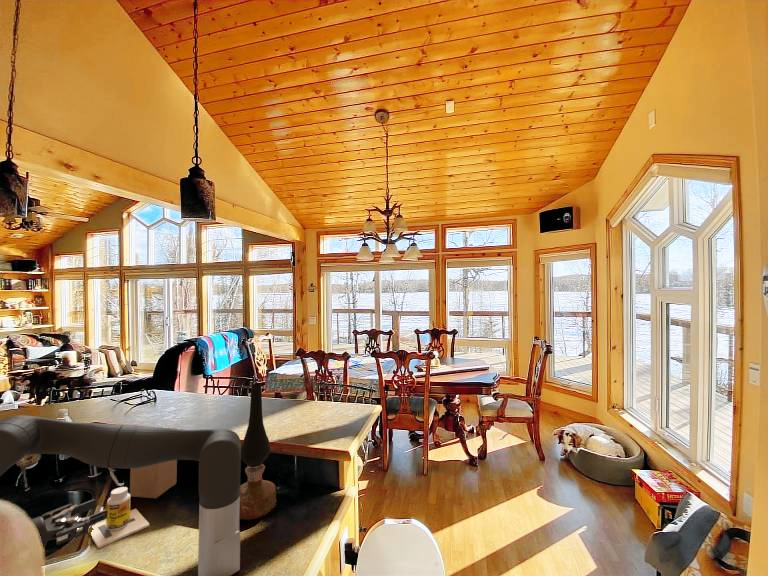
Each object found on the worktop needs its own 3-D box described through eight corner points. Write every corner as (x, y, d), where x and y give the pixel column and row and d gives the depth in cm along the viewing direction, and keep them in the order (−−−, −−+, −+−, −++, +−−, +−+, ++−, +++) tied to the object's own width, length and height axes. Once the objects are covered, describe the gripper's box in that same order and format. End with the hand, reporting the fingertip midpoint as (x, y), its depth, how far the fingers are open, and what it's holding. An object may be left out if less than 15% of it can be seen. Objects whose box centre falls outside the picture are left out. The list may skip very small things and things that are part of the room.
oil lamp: (250, 502, 122) (244, 384, 130) (289, 501, 118) (280, 379, 125) (221, 521, 109) (216, 388, 116) (263, 521, 105) (255, 384, 112)
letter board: (149, 526, 104) (149, 523, 104) (98, 548, 94) (98, 546, 94) (135, 510, 111) (135, 508, 111) (87, 529, 102) (87, 527, 102)
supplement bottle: (105, 534, 99) (106, 497, 99) (107, 523, 104) (108, 488, 104) (129, 527, 102) (130, 491, 102) (130, 517, 107) (131, 483, 107)
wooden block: (156, 499, 118) (157, 438, 118) (128, 497, 119) (130, 437, 119) (177, 483, 127) (178, 427, 128) (151, 481, 129) (153, 426, 129)
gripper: (23, 538, 78) (111, 502, 91) (8, 516, 86) (91, 486, 99) (22, 573, 78) (111, 531, 91) (8, 547, 86) (91, 513, 99)
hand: (100, 508), depth 95 cm, fingers open, 8 cm apart
